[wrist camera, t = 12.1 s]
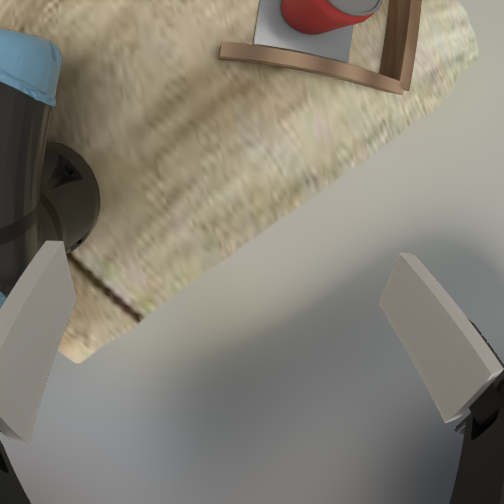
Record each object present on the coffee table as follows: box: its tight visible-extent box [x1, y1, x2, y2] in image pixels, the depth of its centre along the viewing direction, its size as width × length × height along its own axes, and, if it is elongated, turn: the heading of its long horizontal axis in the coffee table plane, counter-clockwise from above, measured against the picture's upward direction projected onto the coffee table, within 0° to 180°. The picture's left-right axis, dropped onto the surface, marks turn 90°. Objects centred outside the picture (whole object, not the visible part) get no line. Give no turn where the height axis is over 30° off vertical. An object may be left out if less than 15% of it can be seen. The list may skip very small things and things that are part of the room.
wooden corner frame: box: [219, 0, 422, 95], centre depth 24 cm, size 21×16×5 cm
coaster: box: [253, 0, 353, 63], centre depth 26 cm, size 11×11×1 cm
